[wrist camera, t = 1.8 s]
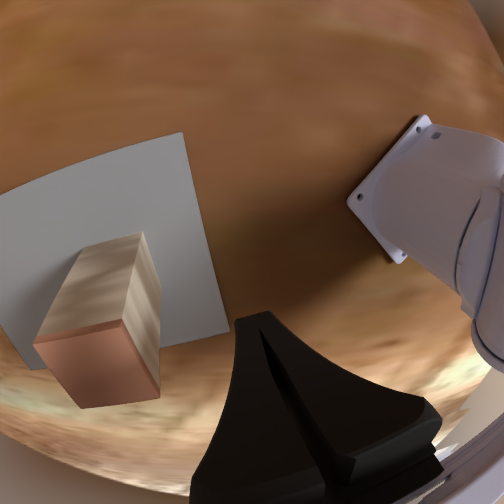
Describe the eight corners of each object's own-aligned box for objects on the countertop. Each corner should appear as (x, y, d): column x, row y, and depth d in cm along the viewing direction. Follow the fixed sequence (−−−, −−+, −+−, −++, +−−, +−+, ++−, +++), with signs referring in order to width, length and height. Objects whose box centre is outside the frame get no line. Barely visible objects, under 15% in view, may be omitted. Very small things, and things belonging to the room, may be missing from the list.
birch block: (142, 230, 17) (120, 327, 9) (161, 287, 19) (160, 398, 11) (83, 247, 17) (32, 344, 9) (106, 300, 19) (80, 409, 11)
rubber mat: (182, 131, 16) (182, 132, 16) (229, 327, 22) (230, 331, 22) (-45, 218, 14) (-49, 221, 13) (32, 366, 20) (30, 370, 20)
